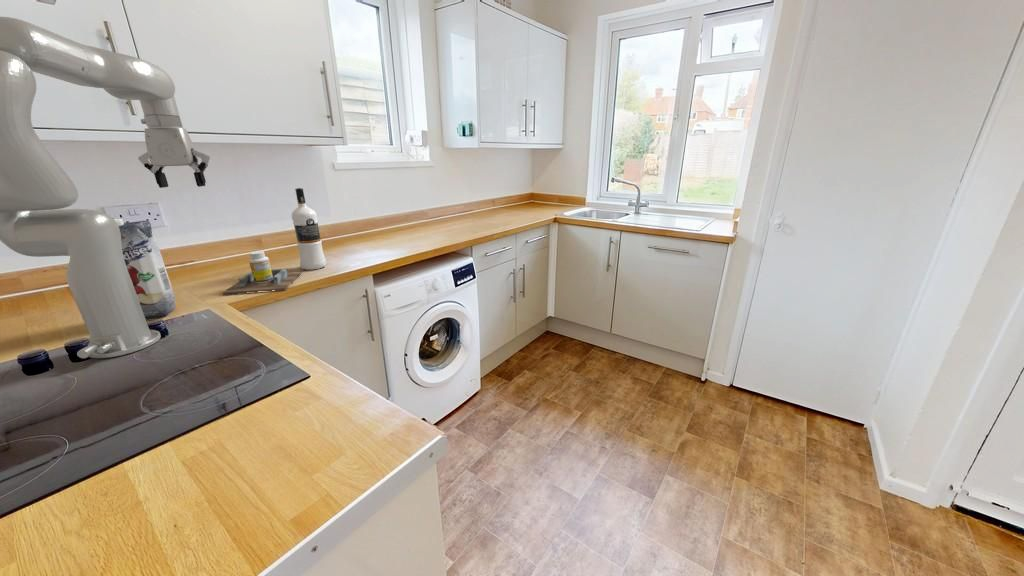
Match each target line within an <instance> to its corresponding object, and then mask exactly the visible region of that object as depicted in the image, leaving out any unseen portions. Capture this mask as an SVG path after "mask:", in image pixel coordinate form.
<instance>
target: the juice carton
mask: <svg viewBox="0 0 1024 576" xmlns="http://www.w3.org/2000/svg"><path fill="white" fill-rule="evenodd" d="M113 219H114V220H115V221H116V223H117V224H118V226H119V229H120V233H121V244H122V252H123V256H124V260H125V264H126V267H127V270H128V272H129V275H130V278H131V280H132V283H133V286H134V289H135V291H136V294H137V297H138V300H139V302H140V305H141V308H142V311H143V313H144V316H145V319H146V320H151V319H152V320H153V319H159V318H165V317H167V316H168V315H170V313H172V312H173V311H174V310H175V309H176V306H177V305H176V296H175V293H174V292H175V291H174V289H173V286H172V284H171V280H170V277H169V274H168V272H167V268H166V265H165V262H164V259H163V256H162V254H161V249H160V247H159V245H158V240H157V238H156V236H155V233H154V230H153V228H152V224H151V222H150V220H139V221H131V222H130V221H129V222H124V221H123V219H122V218H113Z"/></svg>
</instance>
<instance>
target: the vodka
mask: <svg viewBox="0 0 1024 576" xmlns="http://www.w3.org/2000/svg"><path fill="white" fill-rule="evenodd" d="M294 191H295V194H296V200H297V206H298V207H297V208H295V209H294V210H293V211H292V212H291V219H292V222H293V223H292V224H293V227H294V231H295V235H296V241H297V247H298V252H299V261H300V262H299V266H300V268H301V269H302V270H304V269H305V270H304V271H314V269H317V270H321V269H323V267H324V268H325V267H326V266H327V265H328V262H327V259H326V257H325V253H324V248H323V245H322V240H321V233H320V230H319V229H320V228H319V224H318V223H319V221H318V216H317V215H318V214H317V212H316V210H314V209H312V208H311V207H308V206H307V203H306V197H305V193H304V188H300V187H297V188H295V189H294ZM320 268H321V269H320Z"/></svg>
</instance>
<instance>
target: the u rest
mask: <svg viewBox="0 0 1024 576" xmlns="http://www.w3.org/2000/svg"><path fill="white" fill-rule="evenodd" d="M271 271H272V275H273V280H272V281H271V282H268V283H262V284H258V283H255V282H254V278H253V274H252V271H249V272H247V273H246V274H245V275H244V276H242V277H240V278H239V279H238V281H237V282H236V283H234V284H233V285H232V286H230V287H228V288H227V289H225V290H224V291H222V295H223V296H231V295H232V294H235V295H239V294H238V293H247V292H258V291H272V290H275V291H274V292H284V291H286V290H288V288H289V287H290V286H289V285H290V284H291V283H292V282H293V281H295V280H296V279H297V278H298V277H299V276H300V275H301V274H302V271H297V272H296V271H294V272H289V271H288V268H276V269H272V268H271ZM302 275H303V274H302ZM302 275H301V276H302ZM301 276H300V277H301ZM300 277H299V278H300ZM299 278H298V279H299ZM298 279H297V280H298ZM297 280H296V281H297ZM296 281H295V282H296ZM288 286H289V287H288Z"/></svg>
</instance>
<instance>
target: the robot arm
mask: <svg viewBox="0 0 1024 576" xmlns="http://www.w3.org/2000/svg"><path fill="white" fill-rule="evenodd" d="M34 73H36V74H39V75H44V76H46V77H50V78H54V79H57V80H60V81H64V82H67V83H70V84H74V85H77V86H81V87H88V88H95V89H103V90H104V91H105V92H106V93H108V94H109V96H111V97H114V98H117V99H119V100H125V101H139V103H140V105H141V106H140V107H141V109H142V112H143V117H144V118H140V124H142V125H146V126H147V128H144V138H145V139H144V140H145V142H144V143H145V145H146V152H145V153H143V154H141V155H140V156H138V158H137V159H138V161H139V162H140V163H141V164H142V165H143V166H144V168H146V169H148V170H149V171H150V173H152V174H153V175H154V178H155V181H156V184H157V185H158V187H159V188H160V189H162V188H168V187H169V184H168V183H169V182H168V180H167V176H166V174H165V172H163V170H164V169H165V167H183V166H188V167H189V168H191V169H192V170H193V171H194V172H193V177H194V180H195V184H196V186H197V187H199V188H200V187H206V183H207V182H206V181H207V180H206V177H205V173H204V172H205V171H206V168H207V167H208V165H209V163H210V162H209V161H210V159H211V157H210V156H209V155H208V154H205V153H203V152H200V151H199V150H196V149H195V146H194V144H193V142H192V138H191V136H190V135H189V133H188V131H187V129H186V128H184V127H183V124H182V119H181V116H180V112H179V109H178V105H177V102H176V99H175V98H176V97H175V93H176V87H175V83H174V81H173V79H172V77H171V76H170V75H169V74H168V73H167V72H166V71H165V70H164V69H163V68H161V67H160V66H158V65H156V64H154V63H151V62H149V61H148V60H145V59H142V58H139V57H135V56H131V55H127V54H124V53H121V52H120V53H119V52H115V51H111V50H107V49H105V48H104V49H103V48H100V47H95V46H90V45H86V44H84V43H83V44H82V43H79V42H77V41H74V40H73V39H70V38H68V37H67V38H66V37H64V36H63V35H60V34H57V33H55V32H53V31H50V30H47V29H46V28H43V27H40V26H38V25H36V24H33V23H30V22H28V21H25V20H22V19H20V18H15V17H9V16H0V242H1V243H3V244H4V245H5V246H6V247H8V248H9V249H10V250H12V251H14V252H15V253H16V254H17V253H18V254H19V255H22V256H27V257H32V258H33V257H35V258H36V257H37V258H38V257H39V258H41V257H44V258H45V257H62V256H63V257H64V256H65V257H69V261H68V264H67V268H66V271H65V279H66V282H67V285H68V287H69V289H70V292H71V294H72V297H73V299H74V300H75V304H76V306H77V307H78V311H79V314H80V315H81V318H82V321H83V323H84V325H85V327H86V330H87V332H88V334H89V336H90V337H88V338H87V341H88V344H87V346H85V347H83V348H81V349H79V350H78V351H76V352H77V353H76V355H77V357H79V358H80V359H86V358H91V359H108V358H109V359H110V358H115V357H120V356H124V355H128V354H132V353H135V352H137V351H140V350H143V349H145V348H149V347H151V346H152V345H154V344H155V343H156V342H158V341H159V340H160V339H161V337H162V336H161V332H160V331H159V330H155V329H150V328H149V324H148V322H147V319H145V316H144V313H143V311H142V308H141V305H140V302H139V300H138V297H137V294H136V291H135V289H134V286H133V283H132V280H131V278H130V275H129V272H128V270H127V267H126V264H125V260H124V256H123V252H122V244H121V233H120V229H119V226H118V224H117V223H116V221H115V220H114V219H115V218H113V217H112V216H110V215H109V214H107V213H105V212H102V211H99V210H95V209H88V208H87V209H86V208H69V209H68V207H70V206H72V205H74V204H75V203H76V202H77V201H78V199H79V192H78V191H79V190H78V188H77V187H76V185H75V183H74V182H73V180H72V179H71V177H70V176H69V175H68V174H67V172H66V171H65V170H64V168H63V167H62V166H61V165H60V163H59V162H58V161H57V159H56V158H55V157H54V156H53V154H52V153H51V152H50V150H49V149H48V148H47V147H46V145H45V144H44V143H43V141H42V140H41V139H40V137H39V136H38V134H37V133H36V131H35V128H34V127H33V122H32V107H33V102H34V99H35V98H36V92H37V81H36V77H35V75H34ZM198 158H200V159H201V162H200V163H199V159H198ZM65 208H67V209H65Z"/></svg>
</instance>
